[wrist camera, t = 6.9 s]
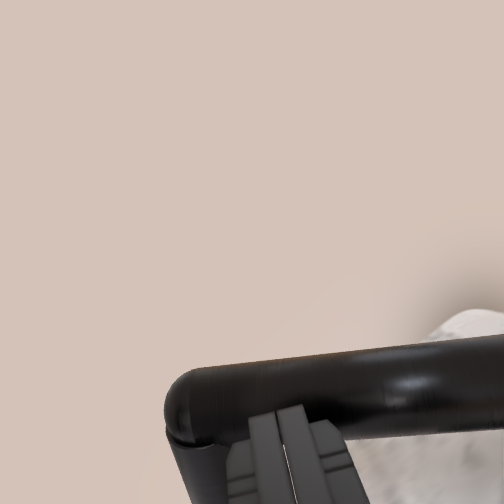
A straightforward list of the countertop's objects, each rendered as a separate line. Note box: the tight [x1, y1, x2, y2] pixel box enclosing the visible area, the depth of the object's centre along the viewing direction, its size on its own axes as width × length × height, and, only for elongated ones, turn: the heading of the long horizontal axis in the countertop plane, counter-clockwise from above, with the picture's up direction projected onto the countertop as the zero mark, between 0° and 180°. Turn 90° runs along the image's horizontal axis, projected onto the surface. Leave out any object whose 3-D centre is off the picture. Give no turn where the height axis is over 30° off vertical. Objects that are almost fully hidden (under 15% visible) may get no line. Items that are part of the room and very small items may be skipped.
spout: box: [164, 334, 504, 504], centre depth 12 cm, size 18×4×6 cm, turn 83°
